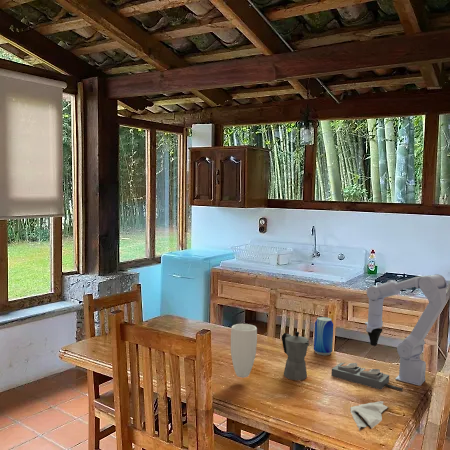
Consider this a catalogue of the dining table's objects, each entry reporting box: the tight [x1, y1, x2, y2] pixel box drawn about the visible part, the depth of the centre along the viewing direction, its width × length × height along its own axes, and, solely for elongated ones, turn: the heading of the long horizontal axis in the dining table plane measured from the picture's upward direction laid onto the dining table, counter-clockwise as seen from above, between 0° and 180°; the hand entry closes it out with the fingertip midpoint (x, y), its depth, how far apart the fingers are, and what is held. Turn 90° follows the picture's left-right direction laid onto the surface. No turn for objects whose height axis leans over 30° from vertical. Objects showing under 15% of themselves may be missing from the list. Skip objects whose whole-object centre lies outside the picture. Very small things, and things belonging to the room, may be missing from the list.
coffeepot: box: [281, 331, 310, 381], centre depth 186 cm, size 15×9×18 cm, turn 33°
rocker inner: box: [362, 368, 381, 374], centre depth 181 cm, size 6×4×1 cm, turn 53°
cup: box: [230, 323, 258, 378], centre depth 176 cm, size 10×10×22 cm
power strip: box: [331, 362, 404, 392], centre depth 182 cm, size 26×9×4 cm, turn 53°
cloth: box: [349, 400, 389, 432], centre depth 154 cm, size 26×14×2 cm, turn 134°
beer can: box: [313, 316, 334, 356], centre depth 214 cm, size 8×8×16 cm
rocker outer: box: [341, 362, 358, 368], centre depth 187 cm, size 6×4×1 cm, turn 53°
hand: (373, 345), depth 198 cm, fingers closed
